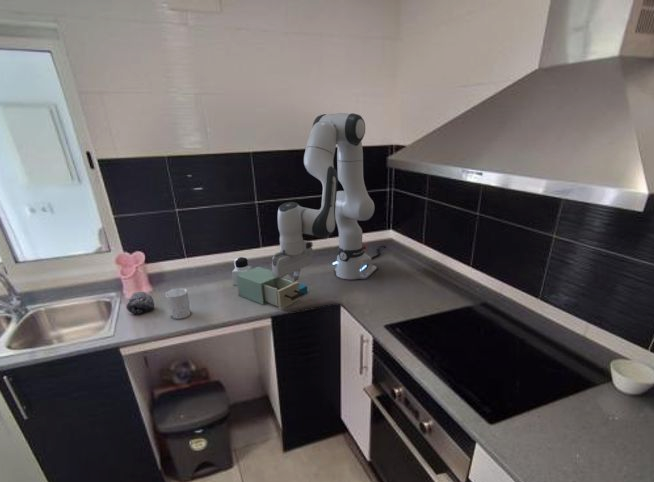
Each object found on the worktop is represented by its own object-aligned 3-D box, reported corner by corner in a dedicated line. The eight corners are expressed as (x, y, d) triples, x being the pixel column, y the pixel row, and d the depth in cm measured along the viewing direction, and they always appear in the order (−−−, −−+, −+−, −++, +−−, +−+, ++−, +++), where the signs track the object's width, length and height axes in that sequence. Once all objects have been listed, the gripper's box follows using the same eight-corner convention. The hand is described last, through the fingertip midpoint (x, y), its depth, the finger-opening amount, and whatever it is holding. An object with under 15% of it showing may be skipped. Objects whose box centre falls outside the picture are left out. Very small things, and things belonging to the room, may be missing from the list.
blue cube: (300, 290, 171) (299, 283, 170) (307, 293, 169) (307, 285, 167) (293, 294, 168) (292, 286, 167) (300, 296, 166) (300, 289, 164)
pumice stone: (141, 322, 152) (161, 306, 158) (131, 308, 147) (152, 292, 152) (126, 315, 157) (146, 300, 162) (116, 301, 152) (136, 286, 157)
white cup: (171, 312, 154) (165, 290, 150) (191, 309, 157) (186, 286, 152) (171, 321, 148) (165, 298, 143) (192, 317, 150) (187, 294, 146)
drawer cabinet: (284, 294, 168) (282, 274, 164) (263, 304, 160) (260, 283, 155) (260, 285, 177) (258, 266, 172) (239, 295, 168) (236, 275, 163)
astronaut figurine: (253, 279, 183) (250, 256, 177) (248, 285, 177) (245, 261, 171) (239, 279, 183) (235, 255, 178) (233, 285, 177) (230, 261, 171)
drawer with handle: (308, 301, 159) (307, 284, 156) (289, 312, 152) (288, 294, 148) (276, 290, 170) (274, 274, 166) (256, 299, 162) (254, 282, 158)
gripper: (278, 256, 136) (281, 291, 142) (315, 241, 150) (317, 273, 156) (266, 253, 139) (270, 287, 146) (303, 238, 153) (305, 270, 160)
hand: (294, 280), depth 151 cm, fingers closed
